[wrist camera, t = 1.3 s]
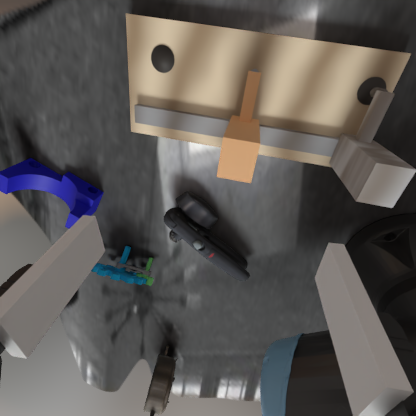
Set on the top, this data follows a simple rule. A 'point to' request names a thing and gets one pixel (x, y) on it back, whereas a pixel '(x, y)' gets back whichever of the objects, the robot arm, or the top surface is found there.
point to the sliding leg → (242, 137)
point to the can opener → (203, 234)
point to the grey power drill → (160, 384)
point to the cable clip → (53, 187)
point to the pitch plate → (270, 97)
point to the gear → (124, 275)
